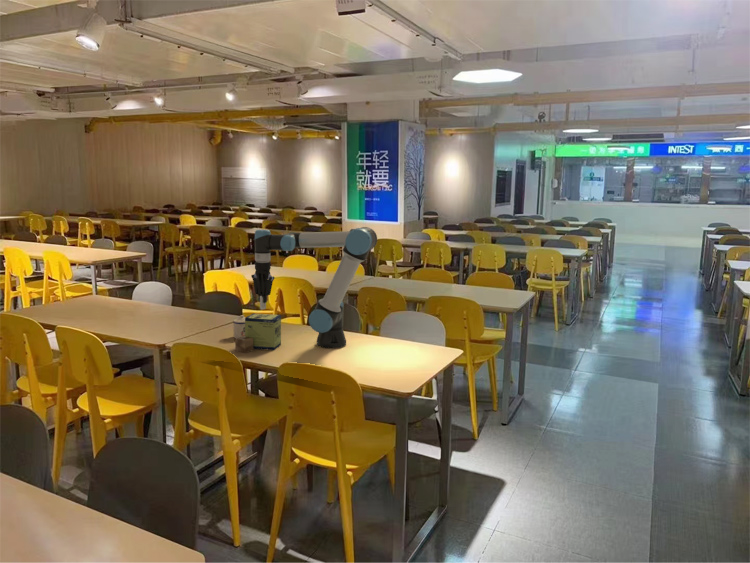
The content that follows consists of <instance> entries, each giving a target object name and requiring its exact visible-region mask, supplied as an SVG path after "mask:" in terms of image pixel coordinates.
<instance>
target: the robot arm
mask: <svg viewBox="0 0 750 563" xmlns="http://www.w3.org/2000/svg"><path fill="white" fill-rule="evenodd" d="M377 243H378V235H377V232H376V231H375V230H374V229H372V228H370V227H367V226H362V227H356V228H351V229H349V230H345V231H342V230H341V231H318V232H315V231H313V232H312V231H311V232H288V233H283V234H273V233H271V230H269V229H257V230H255V231H254V261H255V262H254V270H255V272H254V274H251V278H252V282H253V287H254V293H255V295H257V296H258V302H259V310H265V309H267V302H268V298H267V297H268V296H270V295H271V294H272V293H271V292H272V288H273V287H272V286H273V282H274V280H275V276H272V275H271V269H272V268H271V267H272V265H271V261H272V260H271V256H272V255H271V251H283V252H284V251H285V252H291V251H293V250H294V249H300V248H302V249H303V248H304V249H305V248H340V247H341V248H343V249H342V252H343V256H342V258H341V260H340V263H339V265H338V266H337V269H336V271H335V273H334V275H333V277H332V279H331V282H330V283H329V286H328V287H327V290H326V292H325V295H324V296H323V298H321V299H318V302H317V304H316V306H315V307H314V309H313V310H312V311H311V312H310V314H309V316H308V324H309V326H310V328H311V329H312V330H313V331H314V332H317V333H318V335H317V337H316V338H317V339H316V346H317V347H319V348H324V349H340V348H343V347H346V346H347V339H346V335H345V333H344V332H345V331H344V307H345V306H344V302H343V299H345V296H346V293H347V292H348V290H349V287H350V285H351V283H352V281H353V279H354V277H355V275H356V273H357V271H358V269H359V266H360V264H361V263H363V262H365V261H366V260H367V257H368V256H369V253H370V251H372V250H373V249H374V248H375V247H376V246H377Z"/></svg>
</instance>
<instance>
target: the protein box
mask: <svg viewBox="0 0 750 563" xmlns="http://www.w3.org/2000/svg"><path fill="white" fill-rule="evenodd" d="M245 337H250V338H253V350H255V349H256V350H264V349H268V351H276V350H277V349H278V348H279V347H280V346H281V345H282V315H281V314H266V313H251V314H250V315H248V316H246V317H245Z"/></svg>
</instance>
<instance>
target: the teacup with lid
mask: <svg viewBox="0 0 750 563" xmlns="http://www.w3.org/2000/svg"><path fill="white" fill-rule="evenodd" d="M245 318H246V317H245V316H244V315H243V314H242V315H239V317H237V318H235V319H233V321H232V323H233V338H234V339H237V338H240V337H245Z"/></svg>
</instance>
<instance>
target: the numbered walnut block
mask: <svg viewBox="0 0 750 563" xmlns="http://www.w3.org/2000/svg"><path fill="white" fill-rule="evenodd" d="M234 339H235V340H234V343H235V347H234V348H235V350H234V351H235V352H238V351H239V353H244V354H246V353H249V352H251V350H252V351H253V350H254V349H253V338H250V337H240V338H237V339H236V338H234Z"/></svg>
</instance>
